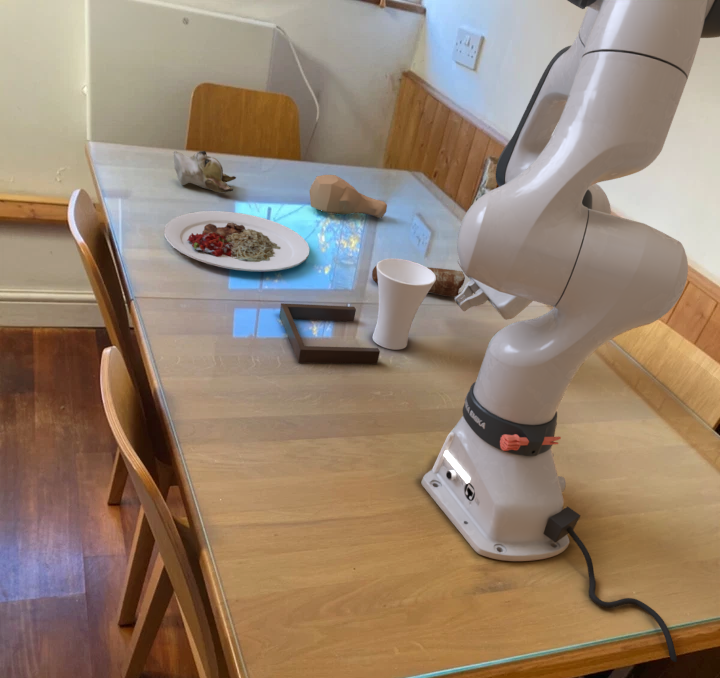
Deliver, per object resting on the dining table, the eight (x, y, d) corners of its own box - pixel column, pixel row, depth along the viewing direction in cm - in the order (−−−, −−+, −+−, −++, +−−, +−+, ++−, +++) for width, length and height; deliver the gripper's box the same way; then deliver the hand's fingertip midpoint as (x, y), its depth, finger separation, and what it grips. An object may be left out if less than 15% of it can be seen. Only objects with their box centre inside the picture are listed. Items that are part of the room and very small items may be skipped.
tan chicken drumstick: (300, 203, 177) (309, 165, 173) (373, 221, 184) (383, 186, 180) (309, 211, 168) (318, 172, 164) (385, 230, 175) (396, 193, 171)
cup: (370, 355, 123) (386, 283, 114) (355, 325, 130) (369, 256, 122) (425, 356, 126) (445, 286, 118) (407, 328, 134) (424, 260, 125)
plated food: (333, 253, 155) (335, 238, 153) (256, 293, 133) (258, 276, 131) (222, 209, 163) (223, 195, 161) (132, 240, 140) (132, 223, 138)
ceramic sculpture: (177, 137, 169) (239, 152, 172) (174, 174, 174) (234, 188, 177) (171, 150, 161) (236, 166, 164) (168, 188, 166) (231, 202, 169)
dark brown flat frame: (377, 364, 121) (380, 351, 119) (298, 362, 116) (300, 349, 114) (351, 318, 132) (354, 306, 131) (279, 315, 128) (280, 303, 126)
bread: (459, 303, 147) (466, 278, 144) (370, 286, 145) (375, 260, 142) (456, 290, 152) (463, 266, 149) (370, 273, 150) (375, 248, 147)
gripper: (556, 296, 119) (489, 345, 122) (506, 247, 134) (446, 292, 137) (543, 270, 115) (473, 321, 118) (492, 222, 129) (431, 269, 132)
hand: (458, 305), depth 127 cm, fingers closed
